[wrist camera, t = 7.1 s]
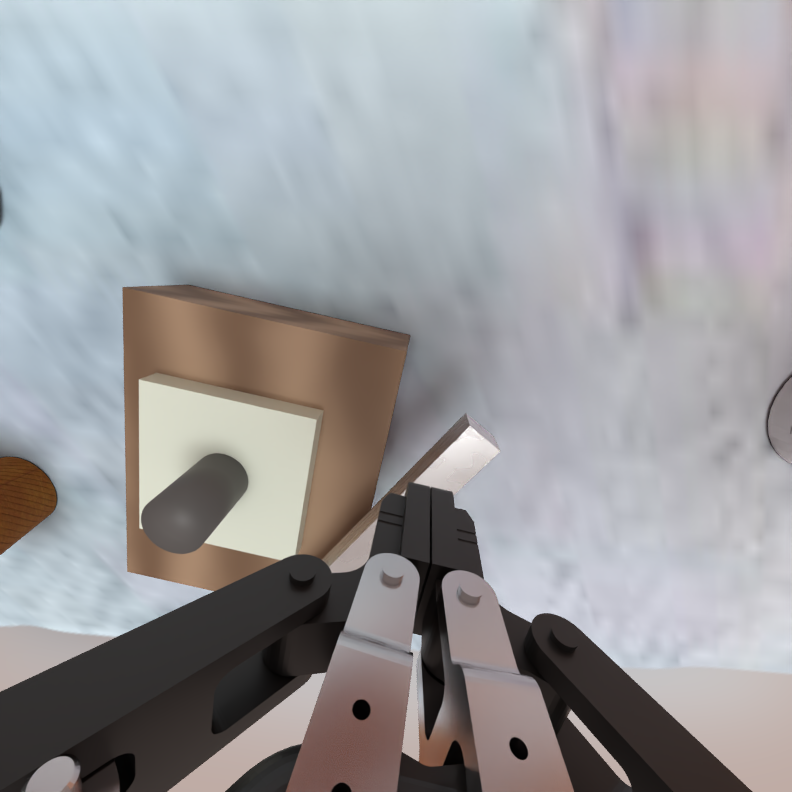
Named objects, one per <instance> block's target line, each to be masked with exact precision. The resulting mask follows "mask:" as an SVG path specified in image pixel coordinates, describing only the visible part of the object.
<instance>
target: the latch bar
mask: <svg viewBox="0 0 792 792" xmlns="http://www.w3.org/2000/svg"><path fill="white" fill-rule="evenodd" d="M499 452H500V449H499V447H498V445H497V442H496V440H495V438H494V436H493V435H492V434H490V433H489V432H488V431H487V430H486V429H485V428H483V427H482V426H481V425H480V424H479V423H477V422H476V421H475V420H474V419H473V418H471V417H470V416H469V415H468V414H467V413H465V414H464V415H463V416H462V417H461V418H460V419H459V420H458V421H457V422H456V423H455V424H454V425H453V426H452V427H451V428H450V430H449V431H448V432H447V433H446V434H445V435H444V436H443V437H442V438H441V439H440V440H439V441H438V442H437V443H436V444H435V445H434V446H433V447H432V448H431V449H430V450H429V451H428V452H427V453H426V454H425V455H424V456H423V457H422V458H421V459H420V460H419V461H418V462H417V463H416V464H415V465H414V466H413V467H412V468H411V469H410V470H409V471H408V472H407V473H406V474H405V475H404V476H403V477H402V478H401V479H400V480H399V481H398V482H397V483H396V485H395V486H394V487H393V488H392V489H391V490H390V491H389V492H388V493H387V494H386V495H385V496H384V497H383V498H382V499H381V500H380V501H379V502H378V503H377V504H376V505H375V506H374V507H373V508H372V509H371V510H370V511H369V512H368V513H367V514H366V515H365V516H364V517H363V518H362V519H361V520H360V521H359V522H358V523H357V524H356V525H355V526H354V527H353V528H352V529H351V530H350V531H349V532H348V533H347V534H346V535H345V536H344V537H343V538H342V540H341V541H340V542H339V543H338V544H337V545H336V546H335V547H334V548H333V549H332V550H331V551H330V552H329V553H328V554H327V555H326V556H325V557H324V558H323V559H322V560H323V561H324V562H325V563H326V564H327V565H328V566H329V568H330V570H331V572H332V573H342V572H350V571H353V570H356V569H358V568H360V567H361V566H363V565H364V564H365V563H366V562H367V560H368V559H369V555H370V550H371V546H372V541H373V537H374V532H375V528H376V524H377V519H378V515H379V511H380V507H381V502H382V500H383V499H384V498H385V497H386V496H387V495H388V494H389V493H394V494H398V495H402V496H405V492H406V488H407V484H408V482H413V483H417V484H422V485H426V486H430V488H431V487H435V488H439V489H443V490H447V491H452V492H453V496H454V495H455V494H456V493H457V492H458V491H459V490H460V489H461V488H462V487H463V486H464V485H465V484H466V483H467V482H469V481H470V480H471V479H472V478H473V477H474V476H475V475H476V474H477V473H478V472H479V471H480V470H481V469H482V468H483V467H484V466H486V465H487V464H488V463H489V462H490V461H491V460H492V459H493V458H494V457H495V456H496V455H497V454H498V453H499Z"/></svg>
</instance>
